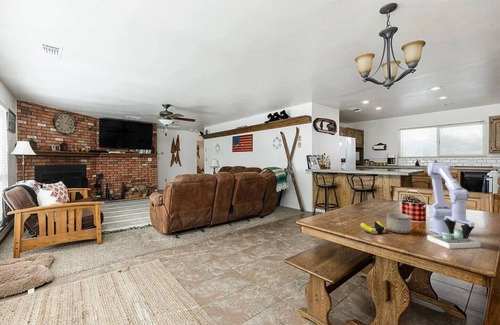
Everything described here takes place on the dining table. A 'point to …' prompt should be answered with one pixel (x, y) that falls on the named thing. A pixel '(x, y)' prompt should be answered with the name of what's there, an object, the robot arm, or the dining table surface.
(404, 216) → the planter
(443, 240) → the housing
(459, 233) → the jaw peg
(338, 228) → the dining table surface
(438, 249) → the dining table surface
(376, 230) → the spring clamp
